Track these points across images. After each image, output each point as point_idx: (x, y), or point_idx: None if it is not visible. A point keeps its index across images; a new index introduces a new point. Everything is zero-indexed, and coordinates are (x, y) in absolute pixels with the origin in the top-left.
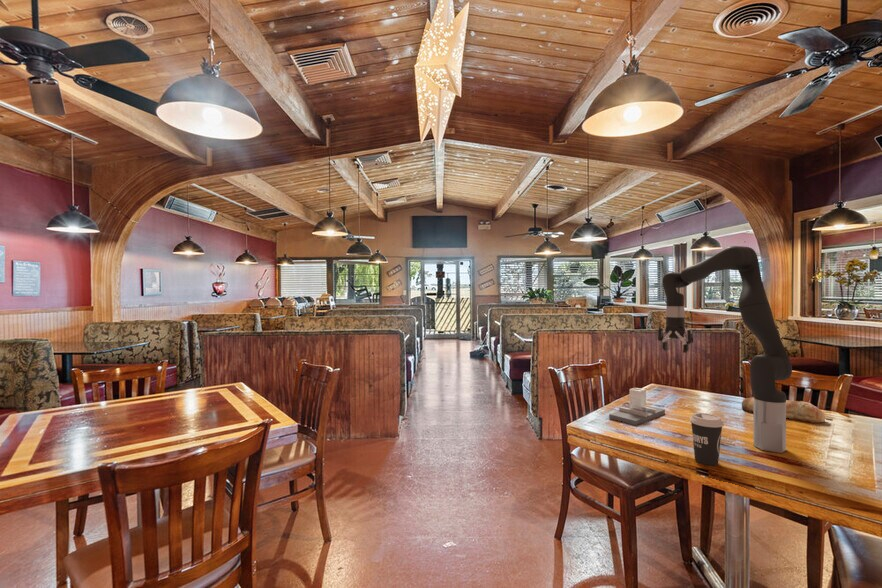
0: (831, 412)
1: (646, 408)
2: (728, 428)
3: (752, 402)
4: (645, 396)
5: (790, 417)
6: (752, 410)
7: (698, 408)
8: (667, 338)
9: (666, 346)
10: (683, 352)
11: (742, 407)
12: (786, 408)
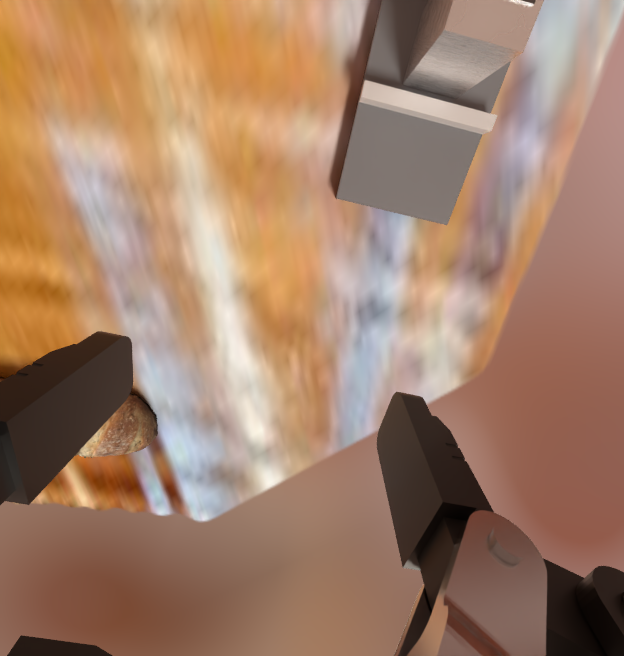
0: None
1: (405, 91)
2: (97, 134)
3: None
4: (431, 40)
5: None
6: None
7: (254, 351)
8: (425, 649)
9: (396, 466)
10: (129, 338)
11: (148, 411)
12: None
